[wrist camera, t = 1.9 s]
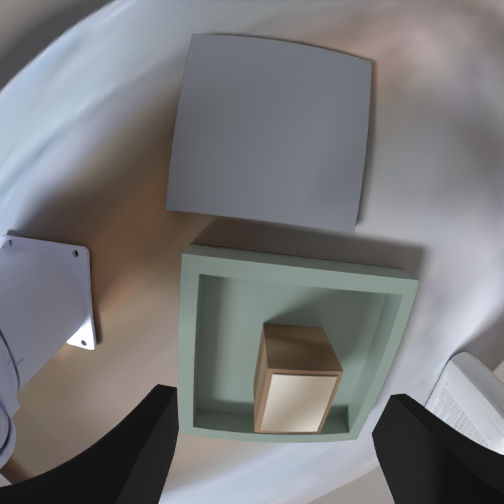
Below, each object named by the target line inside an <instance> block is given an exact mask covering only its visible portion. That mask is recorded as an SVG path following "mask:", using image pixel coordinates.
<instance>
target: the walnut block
mask: <svg viewBox="0 0 504 504" xmlns="http://www.w3.org/2000/svg"><path fill="white" fill-rule="evenodd" d="M343 372H344V371H343V369H342V366H341V364H340V362H339V360H338V358H337V356H336V354H335V352H334V350H333V347H332V345H331V343H330V341H329V339H328V337H327V335H326V333H325V331H324V329H323V327H308V326H294V325H282V324H271V323H263V327H262V333H261V339H260V345H259V351H258V357H257V363H256V369H255V375H254V381H253V394H254V432H259V433H289V434H306V433H320V432H321V429H322V427H323V425H324V422H325V420H326V417H327V415H328V412H329V410H330V407H331V405H332V402H333V400H334V397H335V394H336V392H337V389H338V386H339V383H340V381H341V378H342V375H343Z"/></svg>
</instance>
